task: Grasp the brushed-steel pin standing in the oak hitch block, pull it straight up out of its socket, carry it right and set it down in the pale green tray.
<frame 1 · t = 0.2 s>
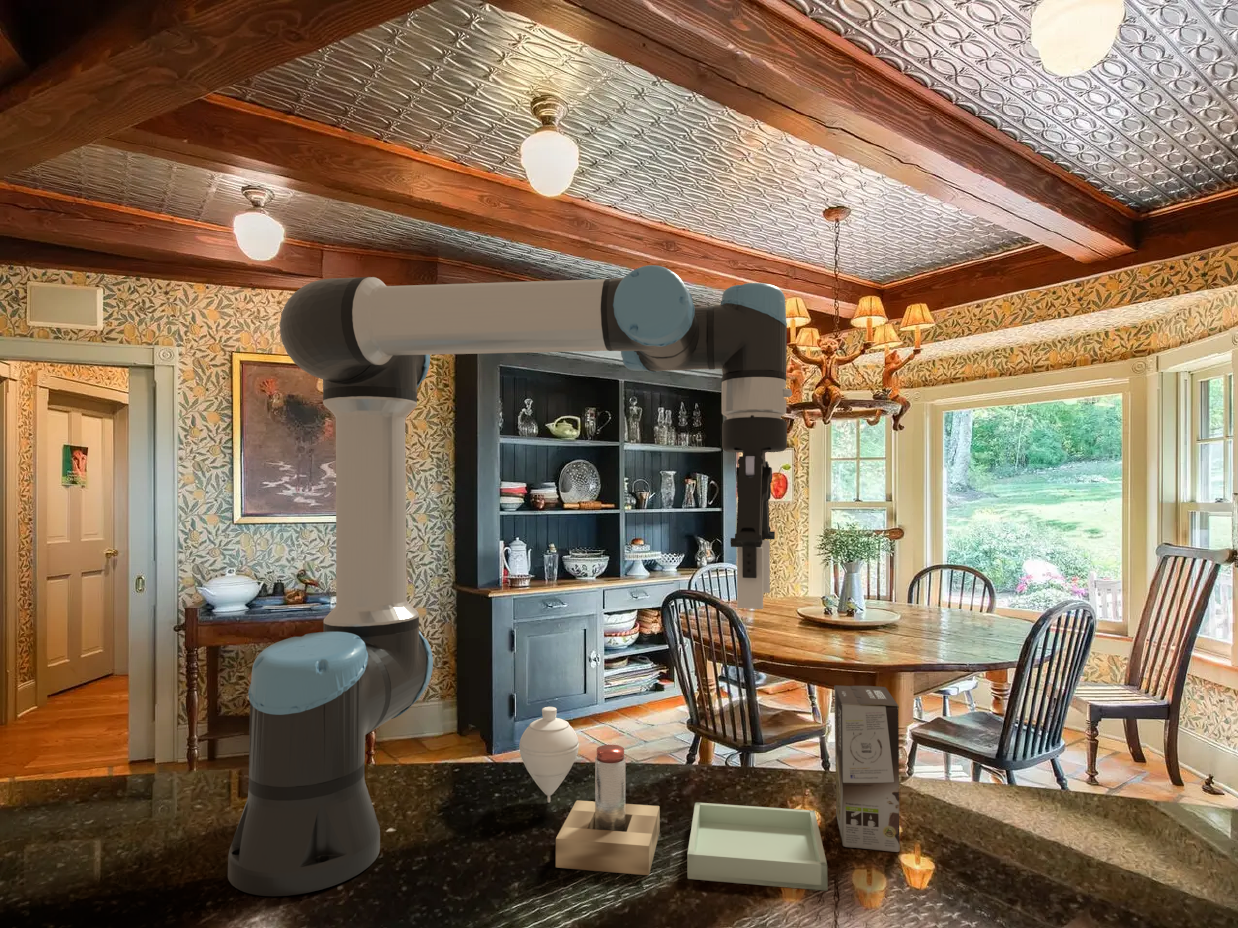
hand: (754, 599, 86), 27 cm above the counter, fingers open, 13 cm apart
coffee box: (866, 834, 87), on the counter
hitch block: (610, 848, 82), on the counter
tray: (755, 853, 81), on the counter
pin: (610, 798, 83), in the hitch block
spinning top: (548, 803, 95), on the counter
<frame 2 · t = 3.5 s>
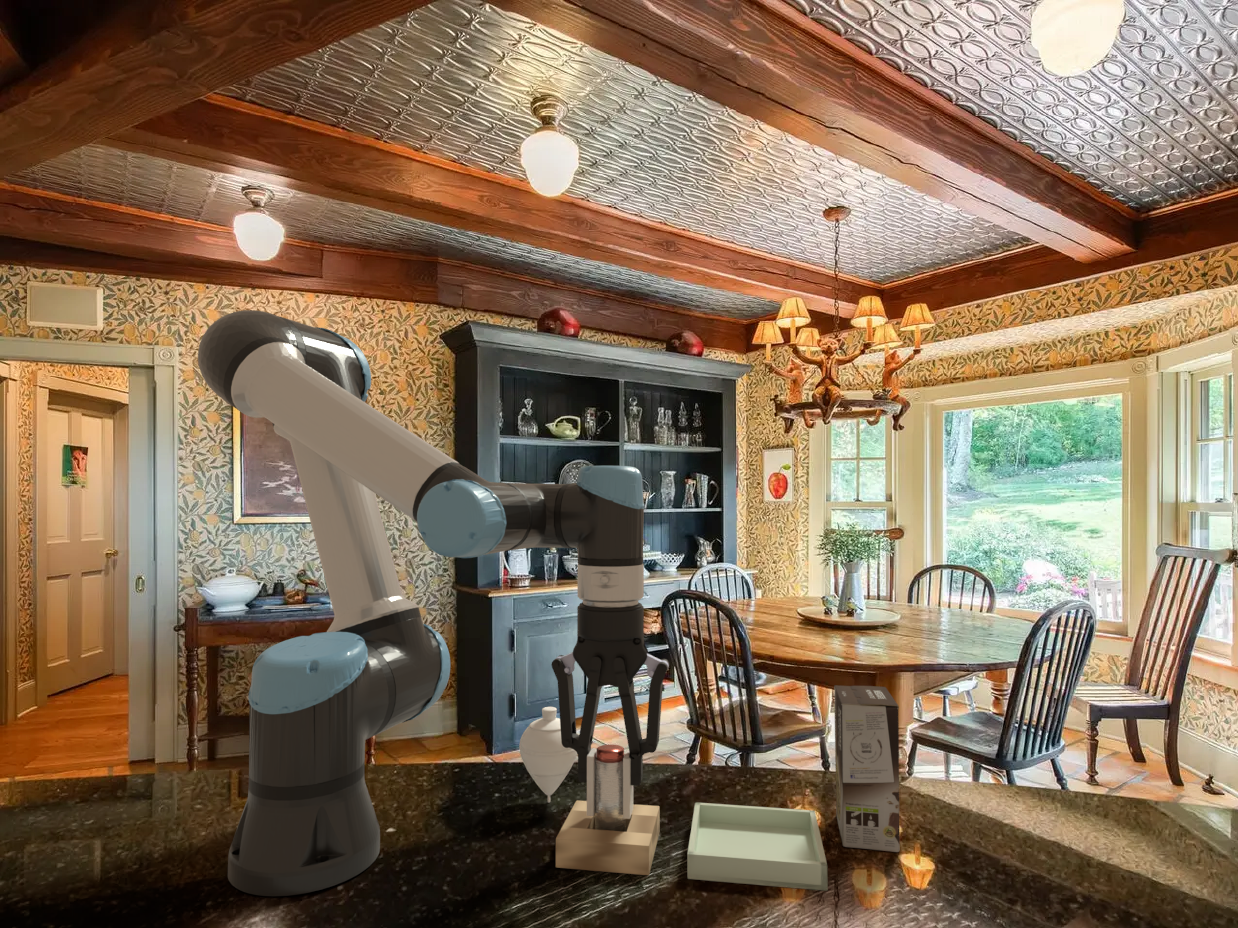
hand: (610, 811, 83), 4 cm above the counter, fingers closed on pin, 3 cm apart
pin: (610, 798, 83), in the hitch block, touching gripper
everything else where it was.
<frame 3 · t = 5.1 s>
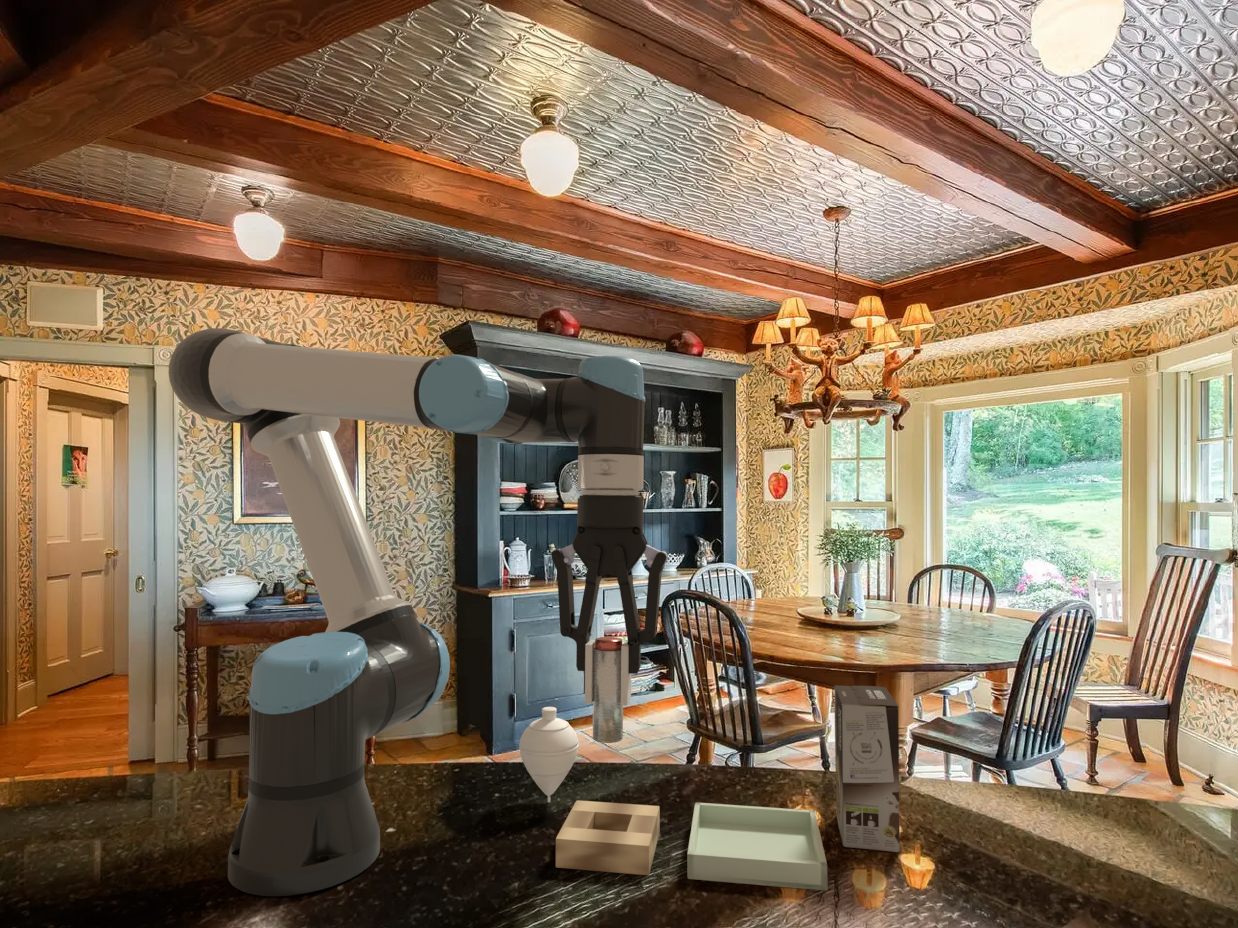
hand: (608, 700, 83), 16 cm above the counter, fingers closed on pin, 3 cm apart
pin: (608, 688, 83), point 18 cm above the counter, touching gripper
everything else where it was.
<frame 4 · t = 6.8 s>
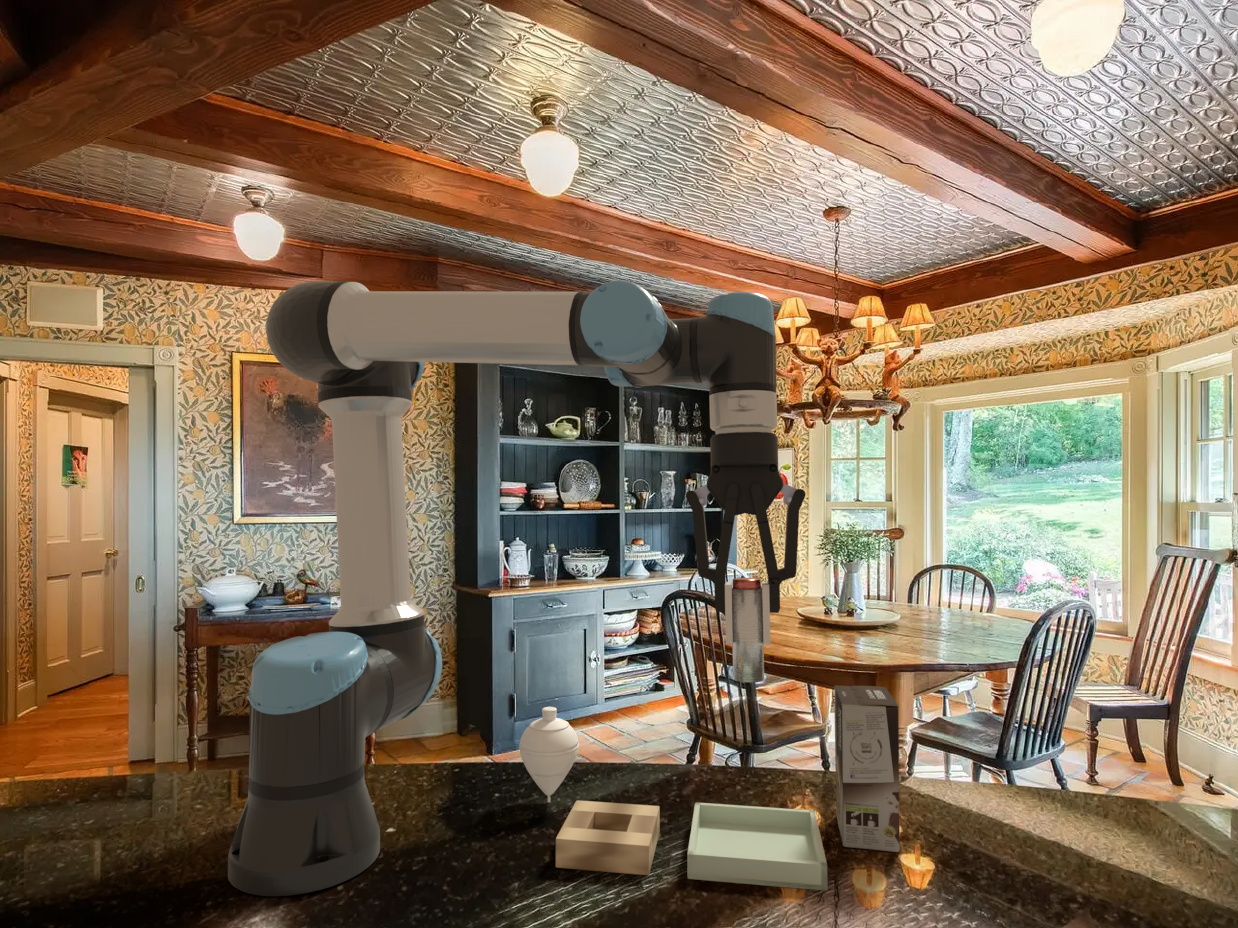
hand: (748, 641, 82), 23 cm above the counter, fingers closed on pin, 3 cm apart
pin: (747, 628, 82), point 25 cm above the counter, touching gripper
everything else where it was.
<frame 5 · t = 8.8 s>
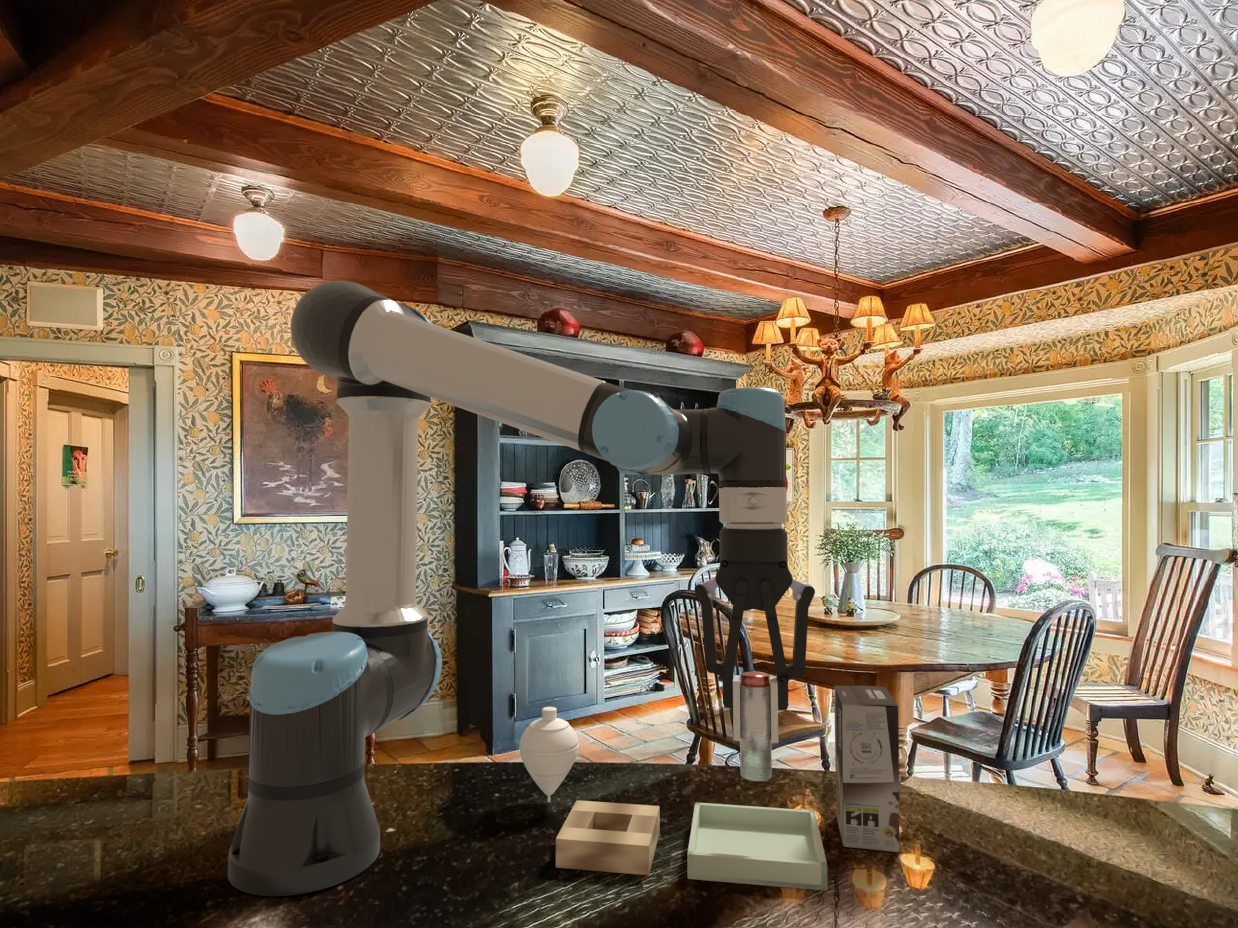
hand: (755, 737, 82), 13 cm above the counter, fingers closed on pin, 3 cm apart
pin: (755, 724, 82), point 14 cm above the counter, touching gripper
everything else where it was.
when the fingers open (5 cm above the counter, at t = 10.4 s): pin stays where it is, resting on tray.
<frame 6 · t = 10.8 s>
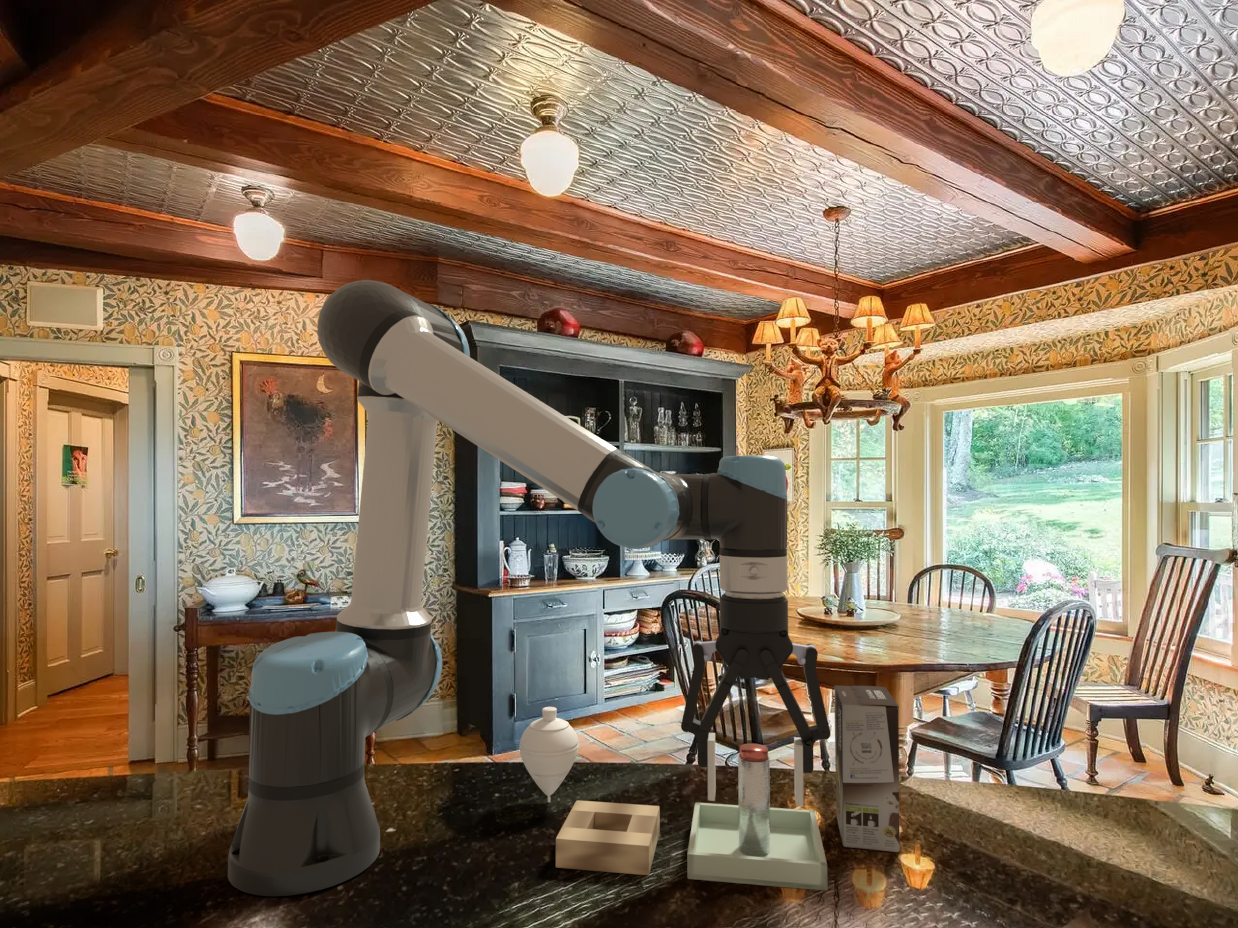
hand: (754, 798, 82), 6 cm above the counter, fingers open, 9 cm apart
pin: (754, 798, 82), in the tray
everything else where it was.
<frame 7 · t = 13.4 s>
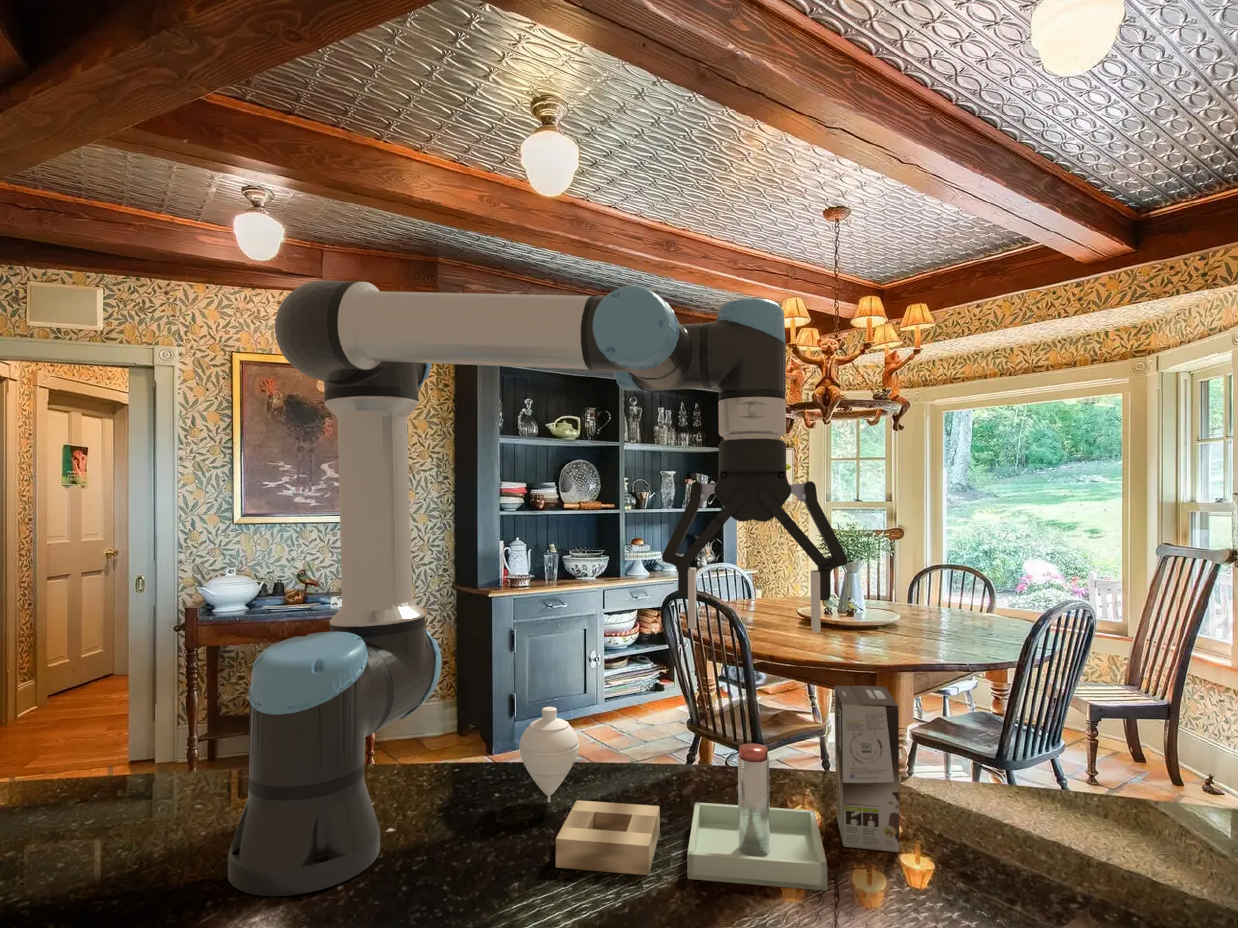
hand: (753, 628, 82), 25 cm above the counter, fingers open, 13 cm apart
nothing on the counter moved.
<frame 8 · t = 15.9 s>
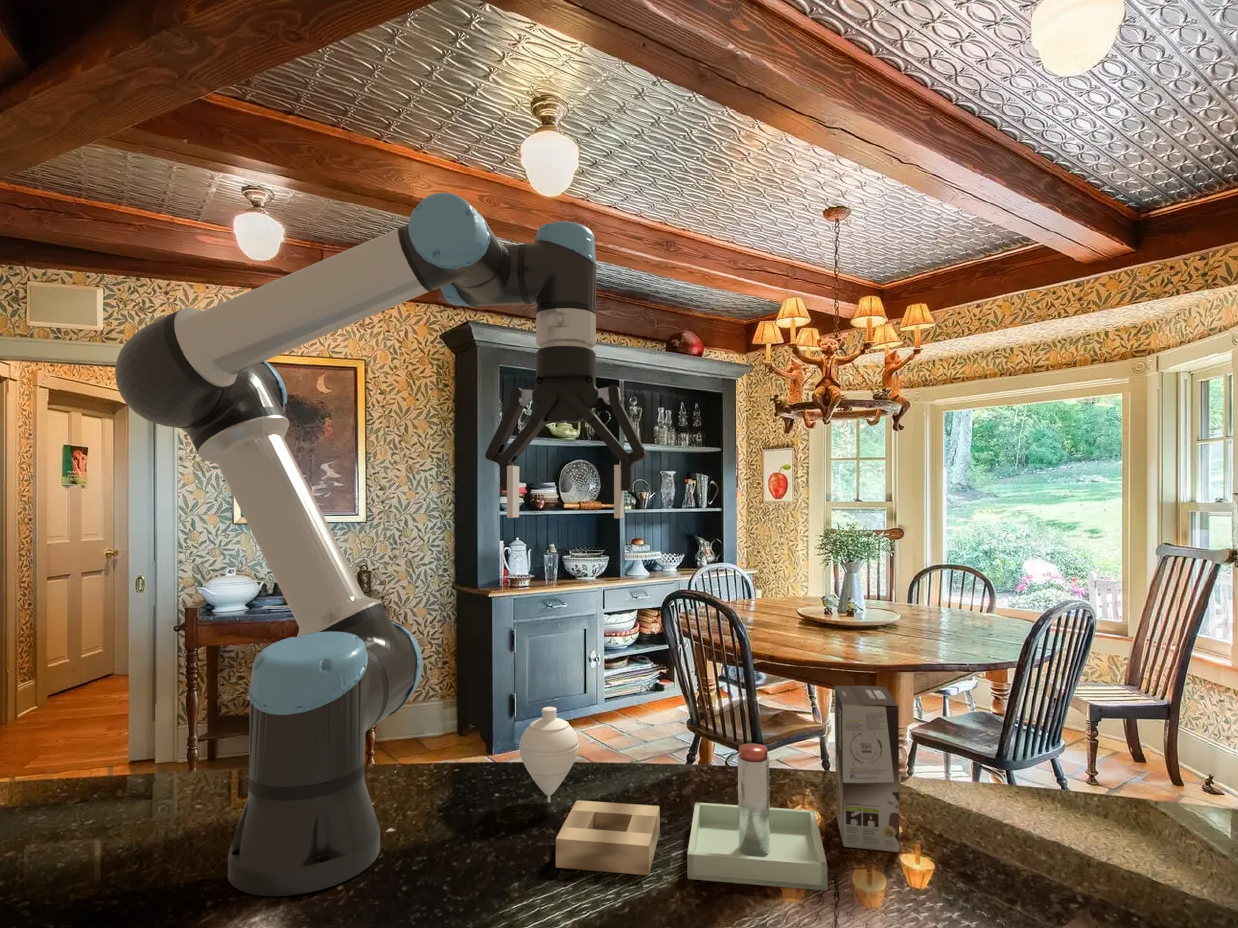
hand: (565, 518, 92), 37 cm above the counter, fingers open, 13 cm apart
nothing on the counter moved.
at the end: pin inside the target area on the tray (0.1 cm from its centre), point 6.0 cm above the tray's base; pin touching tray; the gripper is holding nothing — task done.
